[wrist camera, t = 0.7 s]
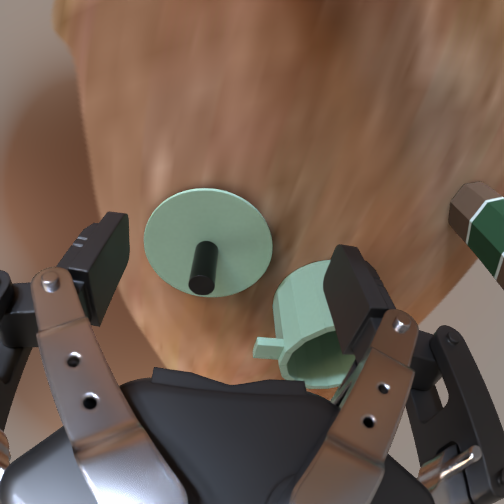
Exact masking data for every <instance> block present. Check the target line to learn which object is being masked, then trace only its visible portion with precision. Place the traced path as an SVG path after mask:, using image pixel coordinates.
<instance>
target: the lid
mask: <svg viewBox="0 0 504 504" xmlns="http://www.w3.org/2000/svg"><path fill="white" fill-rule="evenodd" d="M144 248H145V252H146V256H147V258H148V261H149V263H150V264H151V266H152V268H153V269H154V270H155V272H156V273H157V274H158V275H159V276H160V277H161V278H162V279H163V280H164V281H165V282H167V283H168V284H169V285H171V286H173V287H174V288H176V289H178V290H180V291H183V292H185V293H188V294H192V295H196V296H201V297H222V296H228V295H232V294H235V293H238V292H240V291H243V290H245V289H246V288H248V287H250V286H251V285H253V284H254V283H255V282H256V281H257V280H258V279H259V278H260V277H261V276H262V275H263V274H264V272H265V271H266V269H267V267H268V265H269V263H270V260H271V256H272V249H273V244H272V236H271V232H270V229H269V227H268V224H267V222H266V220H265V219H264V217H263V216H262V215H261V213H260V212H259V211H258V210H257V209H256V208H255V207H254V206H253V205H252V204H250V203H249V202H248V201H246V200H245V199H243V198H241V197H239V196H237V195H235V194H233V193H230V192H227V191H223V190H219V189H211V188H197V189H191V190H186V191H183V192H180V193H177V194H175V195H173V196H171V197H169V198H168V199H166V200H165V201H163V202H162V203H161V204H160V205H159V206H158V207H157V208H156V209H155V211H154V212H153V213H152V215H151V217H150V218H149V220H148V223H147V225H146V228H145V233H144Z"/></svg>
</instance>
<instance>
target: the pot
mask: <svg viewBox="0 0 504 504" xmlns="http://www.w3.org/2000/svg"><path fill="white" fill-rule="evenodd" d="M329 263H330V260H325V261H318V262H314V263H311V264H308V265H305V266H303V267H301V268H299V269H297V270H296V271H294V272H293V273H291V274H290V275H289V276H287V277H286V278H285V279H284V280H283V281H282V283H281V284H280V285H279V287H278V288H277V290H276V293H275V295H274V299H273V313H274V323H275V333H276V338H264V337H257V340H256V343H255V346H254V349H253V358H263V359H278V362H279V368H280V372H281V375H282V377H283V378H284V379H286V380H298V381H305V386H306V388H308V389H327V388H333V387H338V386H340V384H341V382H342V380H343V379H344V377H345V375H346V373H347V372H348V370H349V368H350V366H351V364H352V363H353V361H354V360H355V355H342V351H341V348H340V344H339V341H338V337H337V334H336V330H335V327H334V324H333V320H332V317H331V314H330V310H329V307H328V304H327V301H326V298H325V294H324V291H323V279H324V276H325V273H326V270H327V268H328V265H329Z"/></svg>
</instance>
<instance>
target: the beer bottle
mask: <svg viewBox="0 0 504 504" xmlns="http://www.w3.org/2000/svg"><path fill="white" fill-rule="evenodd" d="M449 224H450V225H451V227H452V228H453V229H454V230H455V232H456V233H457V234H458V235H459V236H460V237H461V238H462V239H463V241H464V242H465V243H466V244H467V245H468V246H469V247H470V249H471V250H472V251H473V252H474V253H475V255H476V256H477V257H478V258H479V259H480V261H481V262H482V263H483V264H484V266H485V267H486V268H487V269H488V271H489V272H490V273H491V274H492V276H493V277H494V278H495V280H496V281H497V282H498V283H499V285H500V286H501V287H502V288H503V290H504V198H503V197H502V196H501V195H500V194H498V193H497V192H496V191H495V190H493V189H492V188H491V187H489V186H488V185H486V184H485V183H483V182H475V183H469V184H464V185H463V186H462V188H461V189H460V190H459V192H458V193H457V194H456V195H455V197H454V198H453V199H452V200H451V203H450V213H449Z"/></svg>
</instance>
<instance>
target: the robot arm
mask: <svg viewBox="0 0 504 504" xmlns="http://www.w3.org/2000/svg"><path fill="white" fill-rule="evenodd" d="M129 253H130V245H129V218H128V215H127V214H125V213H117V212H107V213H106V215H105V216H104V217H103V219H102V220H101V221H100V222H99V223H93V224H91V225H90V226H88V227H87V228H85V229H84V230H83V231H82V232H81V234H80V235H79V236H78V239H76V240H75V241H74V243H73V246H71V247H70V248H69V250H68V251H67V252H66V254H65V255H64V256H63V258H62V259H61V260H60V262H59V263H58V265H57V266H56V267H50V268H46V269H44V270H41V271H40V272H38V273H37V274H36V275H35V276H34V277H33V279H32V281H31V283H17V284H12V282H11V279H10V276H9V274H8V273H6V272H5V271H1V270H0V504H492V503H494V502H497V501H498V500H501V499H503V498H504V431H503V428H502V425H501V423H500V420H499V417H498V414H497V412H496V409H495V407H494V404H493V402H492V399H491V397H490V394H489V392H488V389H487V387H486V385H485V383H484V380H483V378H482V376H481V374H480V371H479V369H478V367H477V365H476V363H475V361H474V359H473V357H472V355H471V352H470V350H469V348H468V346H467V344H466V342H465V340H464V339H463V337H462V336H461V334H460V333H459V332H458V331H456V330H455V329H453V328H452V327H450V326H446V325H443V326H440V327H439V328H438V329H437V331H436V332H435V333H434V335H433V334H430V333H426V332H423V331H420V330H419V328H418V325H417V323H416V321H415V320H414V319H413V318H412V317H411V316H410V315H409V314H407V313H406V312H404V311H401V310H398V309H396V308H395V306H394V304H393V302H392V300H391V298H390V296H389V294H388V292H387V290H386V289H385V287H384V285H383V283H382V281H381V280H380V277H379V276H378V274H377V272H376V270H375V269H374V268H373V267H372V266H371V265H370V264H369V263H368V262H367V261H364V259H363V257H362V255H361V253H360V251H359V250H358V248H357V247H353V246H347V245H341V244H339V245H337V246H336V248H335V250H334V253H333V255H332V258H331V260H330V263H329V265H328V268H327V270H326V273H325V276H324V279H323V291H324V294H325V298H326V301H327V304H328V307H329V310H330V314H331V317H332V320H333V324H334V327H335V330H336V334H337V337H338V341H339V344H340V348H341V351H342V355H355V360H354V361H353V363H352V364H351V366H350V368H349V370H348V372H347V373H346V375H345V377H344V379H343V380H342V382H341V384H340V386H339V387H338V389H337V391H336V393H335V394H334V396H333V398H332V399H331V401H328V400H327V399H325V398H323V397H321V396H319V395H316V394H313V393H311V392H307V391H306V386H305V381H298V380H270V379H269V380H263V381H257V382H251V383H245V384H238V385H228V384H224V383H221V382H218V381H215V380H212V379H209V378H206V377H203V376H200V375H197V374H194V373H192V372H184V371H177V370H170V369H164V368H157V367H154V370H153V375H152V378H143V379H137V380H134V381H130V382H127V383H125V384H122V385H120V386H119V385H118V383H117V381H116V379H115V377H114V376H113V373H112V371H111V369H110V367H109V365H108V363H107V361H106V359H105V357H104V355H103V352H102V350H101V348H100V345H99V343H98V341H97V339H96V336H95V334H94V332H93V329H92V327H91V325H94V326H99V327H100V325H101V323H102V320H103V318H104V315H105V313H106V310H107V308H108V306H109V304H110V301H111V299H112V297H113V294H114V292H115V290H116V288H117V285H118V283H119V281H120V279H121V277H122V274H123V272H124V270H125V268H126V266H127V263H128V260H129ZM32 347H39V351H40V354H41V358H42V362H43V365H44V370H45V373H46V376H47V380H48V383H49V386H50V389H51V392H52V396H53V398H54V401H55V404H56V407H57V410H58V413H59V415H60V418H61V421H62V423H63V426H62V427H61V428H60V429H58V430H57V431H56V432H54V433H53V434H51V435H50V436H49V437H47V438H46V439H45V440H43V441H42V442H40V443H39V444H37V445H36V446H35V447H33V448H32V449H30V450H29V451H27V452H26V453H25V454H23V455H22V456H20V457H19V458H17V459H16V460H15V461H13V462H12V463H11V464H10V463H9V461H10V458H11V455H10V452H9V443H8V439H7V437H6V435H5V433H4V429H5V425H6V421H7V418H8V414H9V411H10V407H11V405H12V401H13V398H14V395H15V392H16V389H17V386H18V384H19V381H20V378H21V375H22V373H23V370H24V367H25V365H26V362H27V360H28V357H29V355H30V352H31V350H32ZM441 377H443V379H444V382H445V385H446V388H447V390H448V394H449V399H448V402H447V404H446V406H445V407H444V408H443V407H442V404H441V401H440V398H439V395H438V392H437V389H436V386H435V384H436V383H437V382H438V380H439V379H440V378H441ZM405 406H406V409H407V413H408V417H409V420H410V424H411V428H412V432H413V436H414V440H415V445H416V448H417V453H418V457H419V462H420V467H421V468H420V470H419V475H418V478H415V477H414V476H413V475H412V474H410V473H409V472H408V471H407V470H406V469H405V468H404V467H402V466H401V465H400V464H399V463H398V462H397V461H396V460H394V459H393V458H392V457H391V456H390V455H389V454H388V451H389V449H390V447H391V444H392V441H393V439H394V436H395V434H396V431H397V428H398V426H399V423H400V420H401V417H402V414H403V411H404V408H405Z"/></svg>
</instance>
